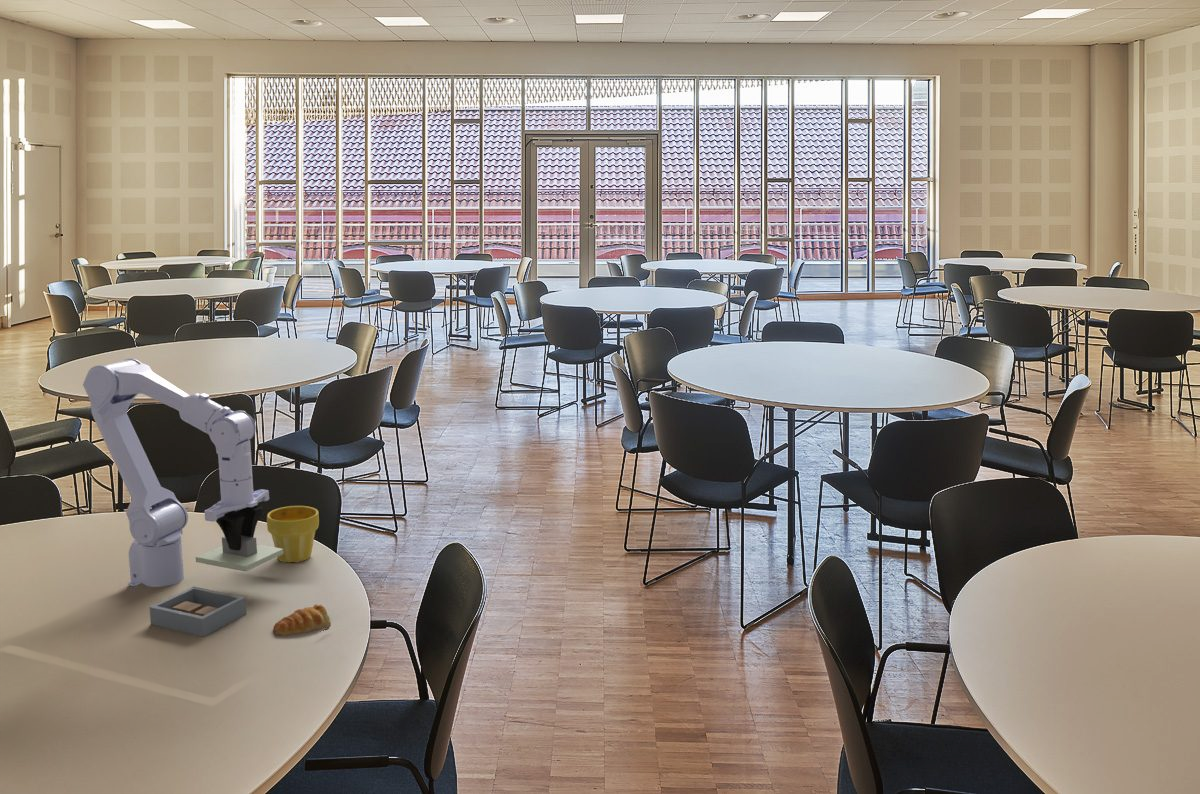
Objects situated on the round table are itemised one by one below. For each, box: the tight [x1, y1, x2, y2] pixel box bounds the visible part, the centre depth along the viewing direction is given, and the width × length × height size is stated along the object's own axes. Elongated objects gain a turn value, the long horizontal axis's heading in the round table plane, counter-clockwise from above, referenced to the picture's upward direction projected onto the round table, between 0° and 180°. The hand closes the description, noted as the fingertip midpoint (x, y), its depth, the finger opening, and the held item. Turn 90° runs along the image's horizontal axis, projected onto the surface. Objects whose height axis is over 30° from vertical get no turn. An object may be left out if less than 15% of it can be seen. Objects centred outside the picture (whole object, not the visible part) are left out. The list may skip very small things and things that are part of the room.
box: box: [148, 586, 247, 638], centre depth 168 cm, size 12×10×4 cm
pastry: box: [272, 603, 332, 636], centre depth 166 cm, size 9×7×4 cm
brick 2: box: [195, 606, 218, 616], centre depth 167 cm, size 4×3×2 cm
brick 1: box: [172, 601, 203, 615], centre depth 169 cm, size 4×3×2 cm
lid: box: [195, 535, 284, 573], centre depth 181 cm, size 12×10×5 cm
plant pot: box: [266, 505, 320, 564], centre depth 200 cm, size 10×10×10 cm
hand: (240, 546), depth 181 cm, fingers closed on lid, 2 cm apart
